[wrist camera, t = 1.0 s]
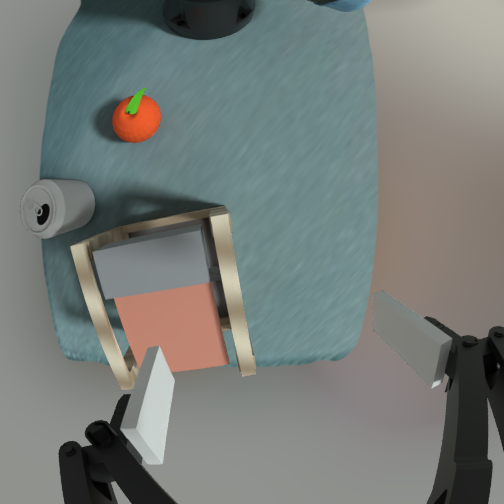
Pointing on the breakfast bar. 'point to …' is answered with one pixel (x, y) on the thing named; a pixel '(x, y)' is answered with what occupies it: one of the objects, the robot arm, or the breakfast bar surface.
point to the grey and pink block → (165, 296)
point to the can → (56, 207)
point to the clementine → (136, 118)
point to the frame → (224, 290)
